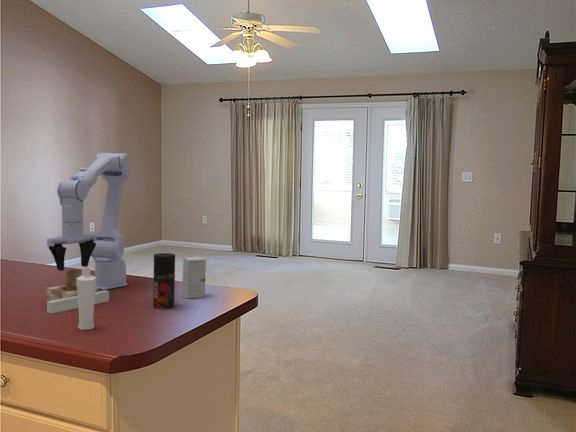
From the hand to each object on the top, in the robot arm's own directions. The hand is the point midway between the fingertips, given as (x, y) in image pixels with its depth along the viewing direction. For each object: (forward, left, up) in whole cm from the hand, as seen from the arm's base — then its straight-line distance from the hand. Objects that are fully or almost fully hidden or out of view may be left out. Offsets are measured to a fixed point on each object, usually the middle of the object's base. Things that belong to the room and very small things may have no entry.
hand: (72, 268), depth 150 cm
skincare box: (-28, +21, -10) cm, 36 cm away
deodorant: (-14, +23, -10) cm, 29 cm away
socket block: (0, 0, -10) cm, 10 cm away
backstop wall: (+2, +6, -10) cm, 12 cm away
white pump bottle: (+12, +24, -10) cm, 29 cm away
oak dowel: (0, 0, -9) cm, 9 cm away
